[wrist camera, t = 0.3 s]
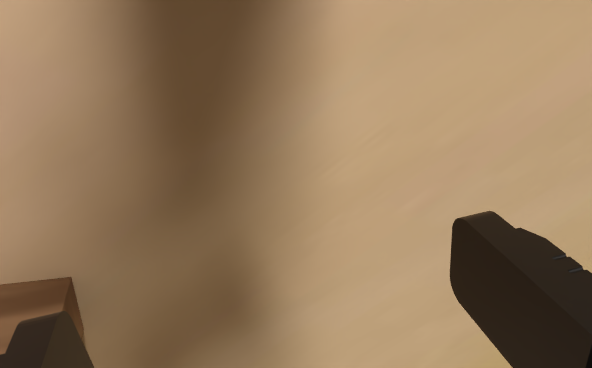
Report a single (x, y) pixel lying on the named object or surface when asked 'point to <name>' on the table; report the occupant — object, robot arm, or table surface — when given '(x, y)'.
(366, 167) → the table surface
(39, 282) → the walnut block
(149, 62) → the table surface
